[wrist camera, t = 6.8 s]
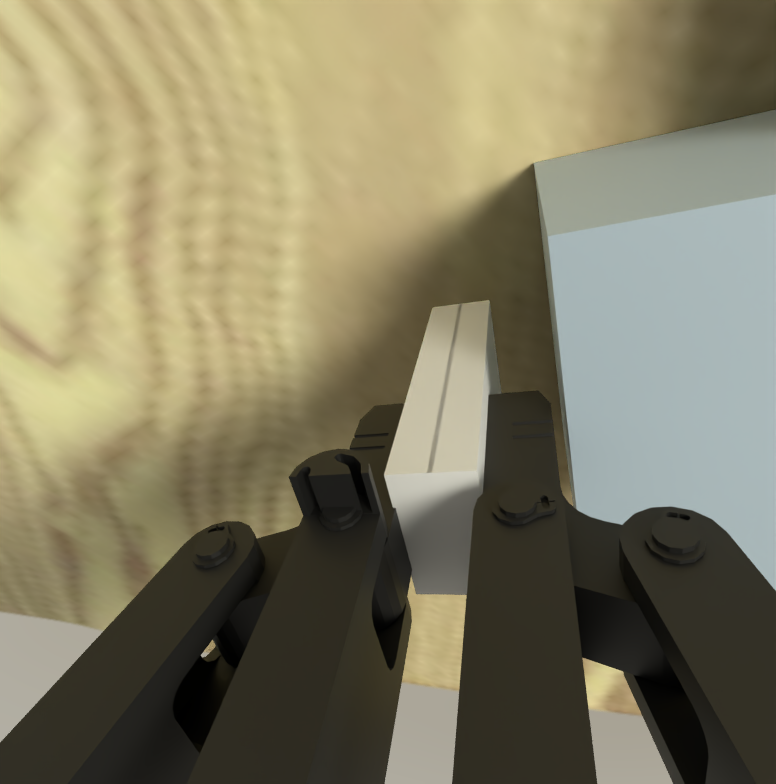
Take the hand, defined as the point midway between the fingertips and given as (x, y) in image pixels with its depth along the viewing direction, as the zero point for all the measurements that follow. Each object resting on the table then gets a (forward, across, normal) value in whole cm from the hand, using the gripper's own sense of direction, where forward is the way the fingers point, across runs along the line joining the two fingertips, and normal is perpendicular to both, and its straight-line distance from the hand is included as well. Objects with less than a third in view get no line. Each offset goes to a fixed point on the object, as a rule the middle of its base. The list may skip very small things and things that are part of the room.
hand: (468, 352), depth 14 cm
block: (+2, +5, 0) cm, 5 cm away
